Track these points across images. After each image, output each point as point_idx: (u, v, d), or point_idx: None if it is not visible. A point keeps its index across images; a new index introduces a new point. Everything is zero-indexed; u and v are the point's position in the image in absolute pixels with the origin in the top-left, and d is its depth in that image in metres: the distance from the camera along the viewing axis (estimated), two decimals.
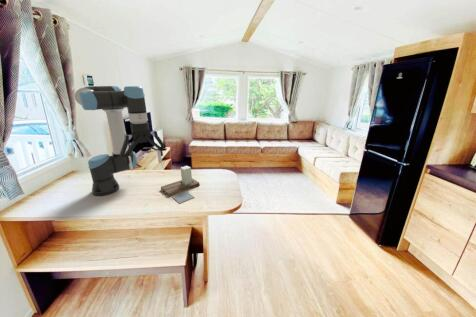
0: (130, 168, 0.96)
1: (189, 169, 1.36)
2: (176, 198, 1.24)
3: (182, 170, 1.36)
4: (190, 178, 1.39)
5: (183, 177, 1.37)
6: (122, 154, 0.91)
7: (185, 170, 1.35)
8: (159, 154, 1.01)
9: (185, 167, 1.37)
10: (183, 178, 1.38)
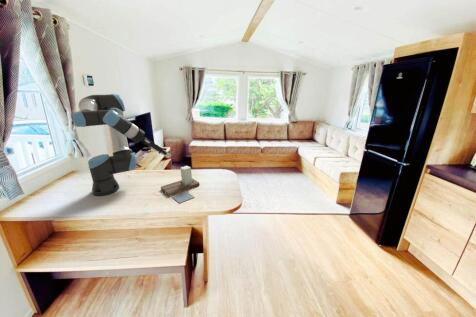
0: None
1: (189, 169, 1.37)
2: (176, 198, 1.24)
3: (182, 170, 1.36)
4: (190, 178, 1.39)
5: (183, 177, 1.37)
6: None
7: (185, 170, 1.35)
8: None
9: (185, 167, 1.37)
10: (183, 178, 1.38)
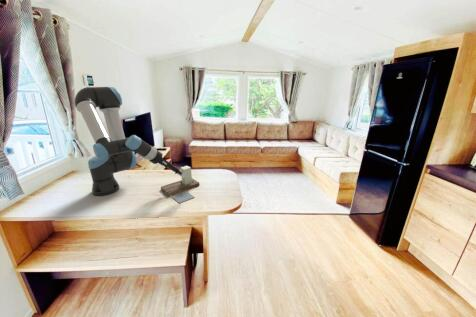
0: None
1: (189, 169, 1.37)
2: (176, 198, 1.24)
3: (182, 170, 1.36)
4: (190, 178, 1.39)
5: None
6: None
7: (185, 170, 1.35)
8: None
9: (185, 167, 1.37)
10: (183, 178, 1.38)
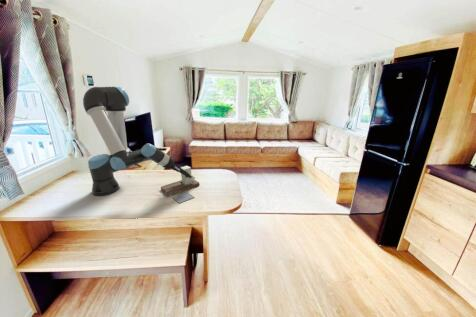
0: None
1: (189, 169, 1.36)
2: (176, 198, 1.24)
3: None
4: None
5: (183, 177, 1.37)
6: None
7: (185, 170, 1.35)
8: (187, 177, 1.37)
9: (185, 167, 1.37)
10: (183, 178, 1.38)
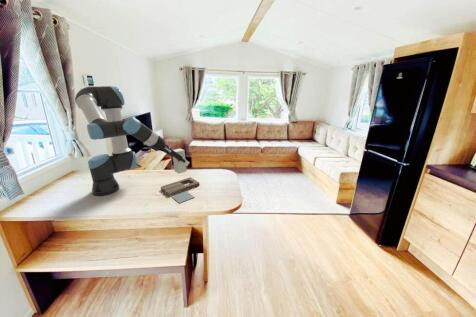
0: None
1: (182, 152, 1.16)
2: (176, 198, 1.24)
3: None
4: None
5: (175, 161, 1.17)
6: None
7: (178, 153, 1.14)
8: None
9: (178, 150, 1.17)
10: (175, 163, 1.17)
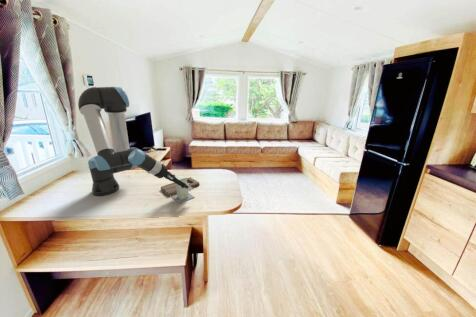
0: None
1: (185, 179, 1.21)
2: (176, 198, 1.24)
3: None
4: None
5: (178, 188, 1.22)
6: None
7: (180, 180, 1.19)
8: (183, 187, 1.18)
9: (180, 177, 1.22)
10: (178, 189, 1.22)
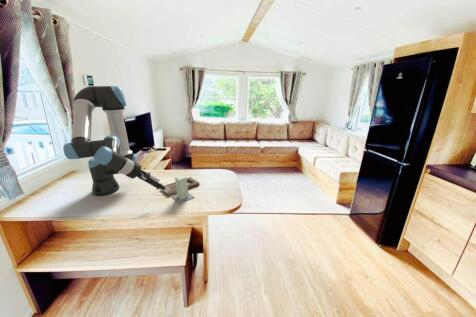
0: (157, 181, 1.20)
1: (185, 179, 1.21)
2: (176, 198, 1.24)
3: (177, 180, 1.20)
4: (186, 189, 1.24)
5: (178, 188, 1.22)
6: None
7: (180, 180, 1.19)
8: None
9: (180, 177, 1.22)
10: (178, 189, 1.22)
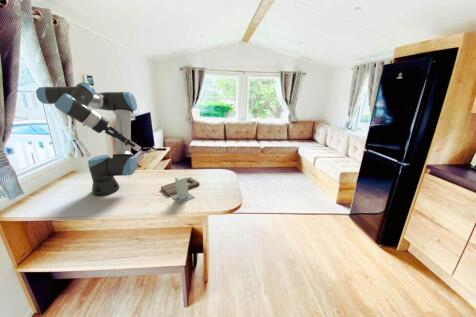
0: None
1: (185, 179, 1.21)
2: (176, 198, 1.24)
3: (177, 180, 1.20)
4: (186, 189, 1.24)
5: (178, 188, 1.22)
6: None
7: (180, 180, 1.19)
8: (129, 146, 1.03)
9: (180, 177, 1.22)
10: (178, 189, 1.22)
